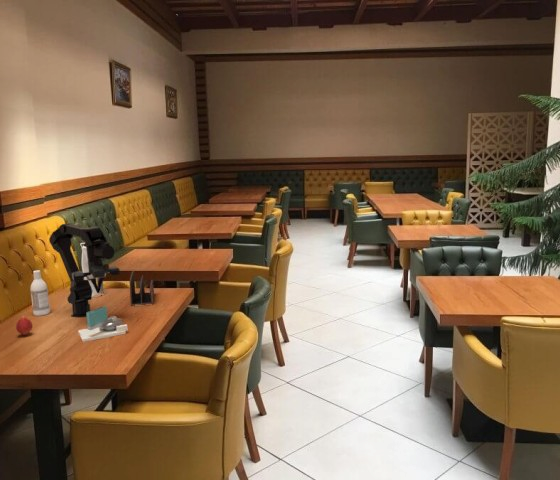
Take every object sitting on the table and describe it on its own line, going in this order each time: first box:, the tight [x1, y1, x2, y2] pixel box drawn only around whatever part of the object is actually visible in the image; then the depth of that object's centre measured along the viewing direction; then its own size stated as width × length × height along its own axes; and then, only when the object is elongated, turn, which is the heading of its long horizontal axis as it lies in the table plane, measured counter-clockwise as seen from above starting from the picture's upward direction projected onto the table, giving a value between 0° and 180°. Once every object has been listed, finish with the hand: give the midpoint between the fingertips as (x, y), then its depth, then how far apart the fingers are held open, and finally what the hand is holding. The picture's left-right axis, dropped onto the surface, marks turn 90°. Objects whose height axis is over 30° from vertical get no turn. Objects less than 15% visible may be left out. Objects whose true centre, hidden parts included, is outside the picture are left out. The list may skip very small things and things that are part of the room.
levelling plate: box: [77, 324, 129, 343], centre depth 205 cm, size 17×12×3 cm
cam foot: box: [86, 305, 123, 330], centre depth 204 cm, size 15×9×9 cm, turn 152°
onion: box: [15, 315, 33, 336], centre depth 205 cm, size 6×6×8 cm
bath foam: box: [30, 269, 51, 317], centre depth 233 cm, size 7×7×20 cm
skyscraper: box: [79, 242, 105, 297], centre depth 260 cm, size 8×8×28 cm
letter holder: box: [129, 270, 155, 307], centre depth 249 cm, size 10×20×14 cm, turn 11°
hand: (98, 292), depth 220 cm, fingers closed
